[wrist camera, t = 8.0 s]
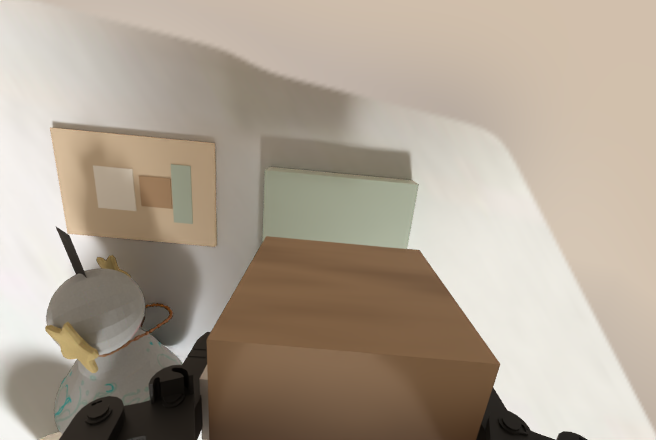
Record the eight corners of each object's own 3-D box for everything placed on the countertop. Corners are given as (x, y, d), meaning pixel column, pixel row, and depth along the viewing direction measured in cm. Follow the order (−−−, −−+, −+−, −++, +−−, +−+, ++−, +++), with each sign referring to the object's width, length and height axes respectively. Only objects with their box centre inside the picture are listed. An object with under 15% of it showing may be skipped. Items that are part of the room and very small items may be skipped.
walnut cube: (395, 373, 18) (440, 549, 11) (261, 362, 18) (211, 533, 11) (419, 250, 16) (500, 364, 8) (266, 236, 16) (206, 339, 8)
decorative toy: (228, 417, 30) (202, 243, 21) (114, 528, 23) (-4, 333, 13) (165, 354, 36) (123, 195, 27) (58, 426, 28) (-51, 241, 19)
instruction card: (216, 245, 28) (214, 247, 27) (71, 232, 28) (66, 234, 27) (215, 143, 25) (213, 143, 25) (54, 127, 25) (48, 127, 24)
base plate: (390, 304, 29) (394, 316, 27) (264, 293, 29) (260, 305, 27) (412, 180, 26) (418, 184, 24) (269, 166, 26) (264, 170, 24)
